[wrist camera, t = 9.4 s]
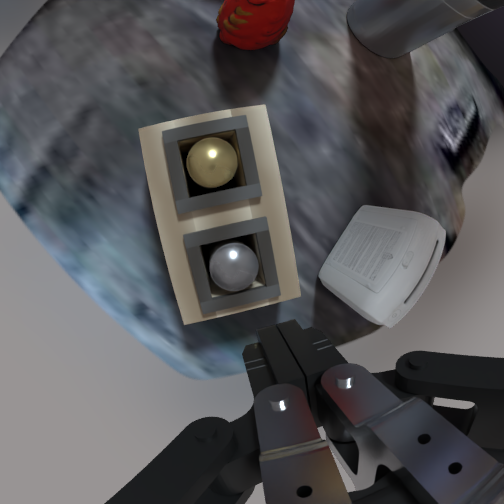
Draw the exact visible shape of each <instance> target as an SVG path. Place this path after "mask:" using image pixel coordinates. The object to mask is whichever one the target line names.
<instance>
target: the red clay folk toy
mask: <svg viewBox="0 0 504 504" xmlns="http://www.w3.org/2000/svg"><path fill="white" fill-rule="evenodd" d="M294 2H295V0H225V1H224V3H223V4H222V5H221V7H220V9H219V11H218V14H219V15H218V17H217V19H216V21H217V23H218V27H219V29H220V35H219V37H220V40H221V41H222V42H223V43H225V44H229V45H231V44H233V45H234V46H235V47H237V48H239V49H242V50H256V49H261V48H264V47H266V46H268V45H274V44H276V43H278V42H279V41H280V39H281V38H282V37H283V36H284V35H285V33H286V32H287V29H288V23H289V21H290V17H291V15H292V13H293V7H294Z"/></svg>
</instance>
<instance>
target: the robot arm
mask: <svg viewBox="0 0 504 504" xmlns="http://www.w3.org/2000/svg"><path fill="white" fill-rule="evenodd" d="M502 6H504V0H356V1H355V2H354V3H353V4H352V5H351V6H350V8H349V9H348V12H347V20H348V24H349V26H350V28H351V30H352V32H353V33H354V35H355V36H356V38H357V39H358V40H359V41H360V42H361V43H362V44H363V45H364V46H365V47H367V48H368V49H369V50H371V51H372V52H374V53H376V54H378V55H380V56H383V57H386V58H398V57H400V56H402V55H404V54H405V53H407V52H411V51H413V50H415V49H417V48H419V47H421V46H423V45H425V44H426V43H428V42H430V41H432V40H434V39H436V38H438V37H440V36H442V35H444V34H446V33H448V32H450V31H452V30H454V29H455V27H457V26H460V25H462V24H464V23H466V22H468V21H470V20H472V19H474V18H476V17H479V16H481V15H483V14H486V13H488V12H490V11H493V10H495V9H498V8H500V7H502ZM256 333H257V338H258V343H254V344H250V345H246V347H245V349H244V351H243V353H242V355H243V359H244V363H245V366H246V370H247V374H248V377H249V381H250V385H251V388H252V392H253V395H254V403H253V406H252V407H251V409H250V410H249V411H248V412H247V413H246V414H245V415H243V416H242V417H240V418H238V419H236V420H234V421H232V422H230V423H229V422H228V421H227V420H225V419H222V418H219V417H205V418H201V419H198V420H196V421H194V422H192V423H190V424H189V425H188V426H187V427H186V428H185V429H184V430H183V431H182V432H181V433H180V434H179V435H178V436H177V437H176V438H175V439H174V440H173V441H172V442H171V443H170V444H169V445H168V446H167V447H166V448H165V449H164V450H163V451H162V452H161V453H160V454H158V455H157V456H156V457H155V458H154V459H153V460H152V461H151V462H150V463H149V464H148V465H147V466H146V467H145V468H144V469H143V470H142V471H141V472H139V473H138V474H137V475H136V476H135V477H134V478H133V479H132V480H131V481H130V482H129V483H127V484H126V485H125V486H124V487H123V488H122V489H121V490H120V491H118V492H117V493H116V494H115V495H114V496H113V497H112V498H110V499H109V500H108V501H107V502H106V503H105V504H245V502H246V501H247V500H248V498H249V497H250V495H251V494H252V492H253V491H254V488H255V485H257V484H259V483H261V482H263V488H264V495H265V501H266V504H504V358H494V357H479V356H468V355H455V354H446V353H437V352H427V351H413V352H409V353H406V354H404V355H403V356H401V357H400V358H399V359H398V361H397V362H396V369H395V370H390V371H385V372H379V373H370V372H369V371H368V370H366V369H365V368H364V367H362V366H360V365H357V364H350V363H348V362H347V361H346V360H345V358H344V357H343V356H342V355H341V354H340V353H339V352H338V351H337V349H336V348H335V347H334V346H333V345H332V343H331V342H330V341H329V340H328V339H327V337H326V336H325V335H324V334H323V333H322V332H321V331H319V330H316V329H314V328H312V327H311V328H308V329H304V330H303V329H302V328H301V327H300V325H299V324H298V323H297V321H296V320H295V319H294V320H290V321H287V322H283V323H279V324H276V326H275V325H272V326H268V327H265V328H261V329H257V330H256ZM435 397H439V398H447V399H454V400H463V401H470V402H473V403H475V405H474V406H473V407H472V408H469V409H459V408H450V407H444V406H436V405H433V402H434V398H435ZM321 426H323V428H324V430H325V432H326V440H322V439H321V437H320V434H319V432H318V429H317V428H318V427H321ZM326 441H327V442H326ZM329 447H330V448H329ZM330 449H331V450H332V451H333V453H334V455H335V456H336V457H337V459H338V461H339V462H340V464H341V465H342V467H343V468H344V469H345V471H346V472H347V474H348V475H349V477H350V478H351V480H352V481H353V483H354V486H355V489H356V491H353V492H349V493H348V492H347V490H346V487H345V485H344V482H343V480H342V477H341V475H340V473H339V470H338V468H337V465H336V463H335V460H334V458H333V455H332V453H331V450H330Z"/></svg>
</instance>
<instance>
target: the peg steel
mask: <svg viewBox="0 0 504 504" xmlns="http://www.w3.org/2000/svg"><path fill="white" fill-rule="evenodd" d="M208 257H209V264H210V274H211V277H212V279H213V280H214V282H215V283H216V284H217V285H218V286H219V287H221V288H223V289H225V290H228V291H239V290H242V289H245V288H246V287H248V286H249V285H250V284H251V283H252V282H253V281H254V280H255V278H256V276H257V273H258V260H257V257H256V255H255V254H254V252H253V251H252V250H251V249H250V248H249V247H247V246H246V245H245V244H244V243H243V241H242V240H241V239H240V238H238V237H234V238H230V239H225V240H221V241H217V242H212V243H211V244H210V246H209V249H208Z"/></svg>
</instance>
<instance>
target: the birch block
mask: <svg viewBox="0 0 504 504" xmlns="http://www.w3.org/2000/svg"><path fill="white" fill-rule="evenodd" d="M139 135H140V141H141V147H142V153H143V159H144V164H145V169H146V175H147V180H148V185H149V190H150V195H151V199H152V204H153V209H154V213H155V217H156V222H157V226H158V230H159V235H160V239H161V243H162V247H163V251H164V255H165V259H166V263H167V266H168V270H169V274H170V278H171V281H172V285H173V288H174V292H175V295H176V299H177V302H178V306H179V309H180V312H181V316H182V319H183V322H184V325H187V324H191V323H196V322H200V321H205V320H209V319H213V318H218V317H222V316H226V315H230V314H235V313H239V312H243V311H247V310H251V309H255V308H259V307H263V306H267V305H270V304H274V303H278V302H282V301H286V300H289V299H293V298H297V297H300V296H301V293H300V287H299V280H298V274H297V268H296V261H295V255H294V249H293V244H292V238H291V232H290V226H289V221H288V215H287V209H286V204H285V199H284V193H283V188H282V183H281V178H280V173H279V167H278V162H277V157H276V153H275V148H274V143H273V138H272V133H271V129H270V124H269V119H268V115H267V110H266V106H265V105H257V106H249V107H242V108H235V109H229V110H223V111H217V112H211V113H206V114H201V115H196V116H191V117H186V118H181V119H177V120H173V121H168V122H164V123H160V124H156V125H152V126H148V127H144V128H141V129H139ZM206 138H219V139H222V140H224V141H226V142H227V143H229V144H230V145H231V146H232V147H233V149H234V150H235V153H236V155H237V169H236V172H235V174H234V179H235V184H236V188H232V189H227V190H223V191H218V192H213V193H209V194H204V195H200V196H195V197H191V195H190V190H189V185H188V180H187V175H186V170H185V165H184V160H183V155H182V153H185V152H189V151H190V150H191V148H192V147H193V146H194V145H195V144H196V143H197V142H199V141H201V140H203V139H206ZM243 235H246V238H247V243H248V247H249V248H250V249H251V250H252V251H253V252H254V254H255V255H256V257H257V260H258V273H257V276H256V278H255V280H254V281H253V282H252V283H251V284H250V285H249V286H248V287H246V288H245V289H242V290H239V291H228V290H225V289H223V288H221V287H219V286H218V285H217V284H216V283H215V282H214V280H213V279H212V277H209V274H208V270H207V266H206V262H205V257H204V253H203V249H202V245H204V244H208V243H212V242H217V241H221V240H225V239H230V238H234V237H239V236H243Z"/></svg>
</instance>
